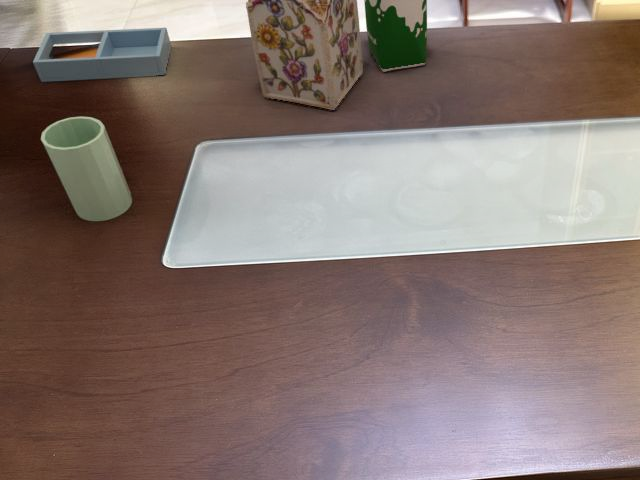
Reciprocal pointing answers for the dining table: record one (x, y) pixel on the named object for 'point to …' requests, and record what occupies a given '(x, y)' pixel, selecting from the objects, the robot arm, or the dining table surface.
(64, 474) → the dining table surface
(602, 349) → the dining table surface
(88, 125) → the cup
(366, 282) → the dining table surface
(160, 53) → the divided tray
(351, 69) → the decorative jar
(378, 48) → the milk carton
